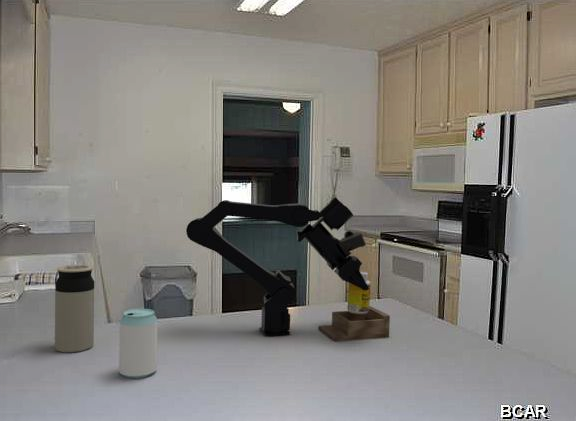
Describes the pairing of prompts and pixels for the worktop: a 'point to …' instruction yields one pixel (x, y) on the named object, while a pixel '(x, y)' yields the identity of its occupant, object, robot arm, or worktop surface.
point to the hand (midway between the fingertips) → (364, 286)
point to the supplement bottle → (359, 297)
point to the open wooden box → (357, 325)
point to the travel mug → (74, 308)
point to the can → (138, 343)
